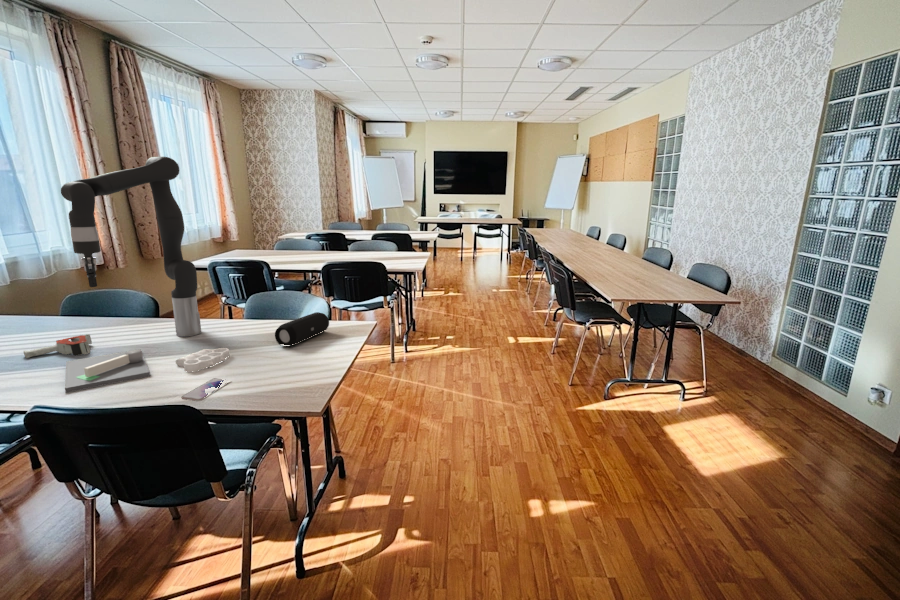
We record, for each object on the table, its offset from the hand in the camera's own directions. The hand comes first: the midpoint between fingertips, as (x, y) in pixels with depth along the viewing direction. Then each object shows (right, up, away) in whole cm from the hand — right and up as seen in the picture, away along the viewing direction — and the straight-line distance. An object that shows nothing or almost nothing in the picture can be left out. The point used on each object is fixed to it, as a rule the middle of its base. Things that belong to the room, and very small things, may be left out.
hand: (93, 286), depth 160 cm
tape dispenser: (-18, -26, +9) cm, 33 cm away
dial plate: (+11, -30, -7) cm, 32 cm away
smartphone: (+53, -34, -19) cm, 66 cm away
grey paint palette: (+40, -29, +3) cm, 49 cm away
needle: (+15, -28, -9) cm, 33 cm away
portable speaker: (+67, -23, +31) cm, 77 cm away
